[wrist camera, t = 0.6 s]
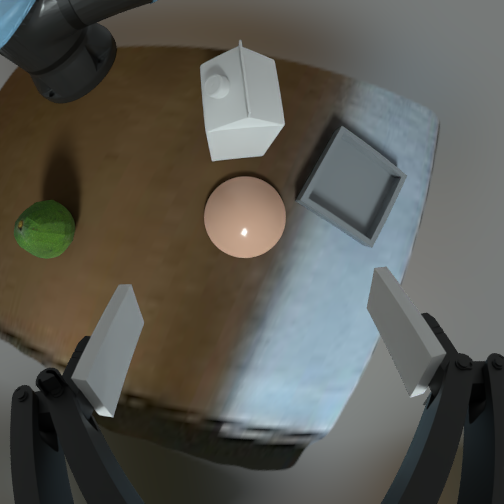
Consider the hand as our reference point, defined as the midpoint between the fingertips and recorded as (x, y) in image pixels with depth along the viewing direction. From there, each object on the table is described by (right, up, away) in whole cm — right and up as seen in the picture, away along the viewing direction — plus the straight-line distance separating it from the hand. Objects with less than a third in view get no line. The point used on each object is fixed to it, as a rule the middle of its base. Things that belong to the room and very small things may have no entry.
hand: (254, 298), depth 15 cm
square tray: (+15, +12, +26) cm, 32 cm away
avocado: (-29, +6, +22) cm, 37 cm away
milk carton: (-2, +19, +23) cm, 30 cm away
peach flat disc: (-1, +7, +25) cm, 26 cm away
